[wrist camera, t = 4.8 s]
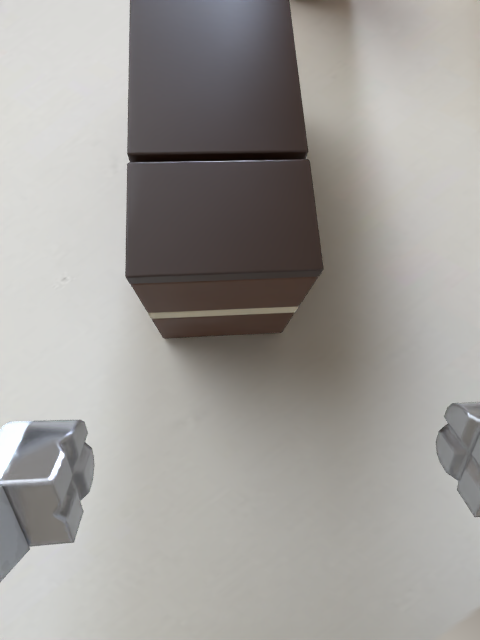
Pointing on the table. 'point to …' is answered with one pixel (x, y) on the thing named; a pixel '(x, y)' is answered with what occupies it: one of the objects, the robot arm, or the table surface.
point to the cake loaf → (213, 82)
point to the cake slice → (221, 244)
